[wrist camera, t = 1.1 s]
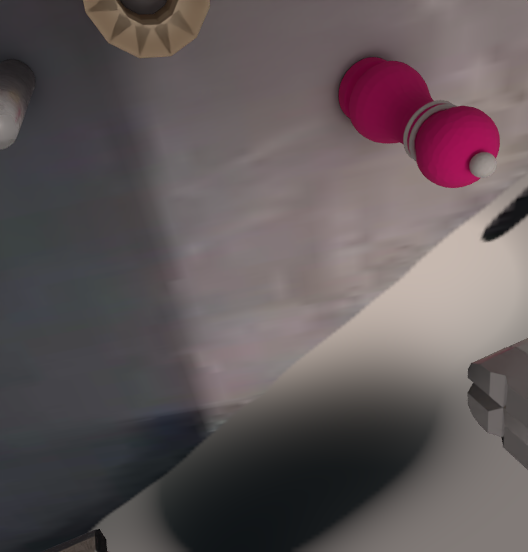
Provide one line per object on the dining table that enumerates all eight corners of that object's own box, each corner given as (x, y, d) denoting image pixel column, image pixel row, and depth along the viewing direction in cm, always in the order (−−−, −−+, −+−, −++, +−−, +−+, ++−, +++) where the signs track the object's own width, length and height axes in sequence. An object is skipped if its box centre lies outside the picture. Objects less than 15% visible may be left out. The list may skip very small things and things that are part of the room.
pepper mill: (327, 125, 51) (430, 219, 35) (340, 49, 46) (462, 117, 31) (390, 125, 53) (514, 214, 37) (407, 52, 48) (555, 117, 33)
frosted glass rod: (15, 51, 40) (-10, 93, 30) (43, 83, 42) (28, 132, 32) (-14, 73, 40) (-48, 121, 31) (16, 104, 42) (-8, 158, 33)
